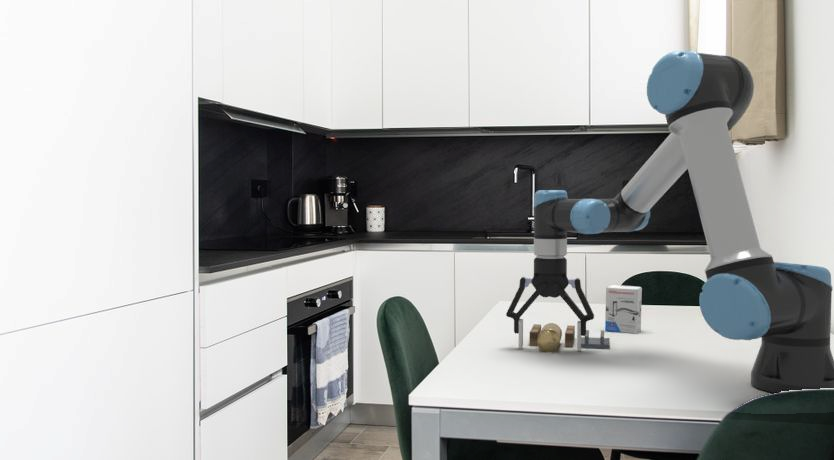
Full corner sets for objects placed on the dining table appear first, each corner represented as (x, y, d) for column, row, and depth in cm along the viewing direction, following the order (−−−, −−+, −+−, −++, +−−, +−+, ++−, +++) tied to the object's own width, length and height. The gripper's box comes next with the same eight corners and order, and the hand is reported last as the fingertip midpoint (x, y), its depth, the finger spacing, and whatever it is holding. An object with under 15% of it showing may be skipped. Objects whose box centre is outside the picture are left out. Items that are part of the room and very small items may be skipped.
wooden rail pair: (572, 347, 195) (572, 333, 195) (529, 345, 197) (529, 332, 197) (574, 338, 207) (574, 325, 207) (533, 336, 209) (533, 324, 209)
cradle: (609, 349, 193) (609, 337, 193) (578, 347, 194) (578, 336, 194) (609, 342, 201) (609, 330, 201) (580, 341, 203) (580, 329, 203)
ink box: (604, 331, 218) (604, 286, 217) (609, 328, 222) (609, 284, 221) (637, 333, 214) (637, 288, 213) (641, 331, 218) (642, 286, 217)
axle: (560, 352, 189) (558, 330, 189) (537, 353, 190) (536, 331, 190) (562, 343, 200) (561, 322, 200) (541, 343, 202) (540, 323, 201)
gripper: (605, 256, 192) (604, 347, 193) (498, 254, 198) (498, 343, 199) (605, 259, 185) (604, 354, 186) (494, 257, 190) (494, 349, 192)
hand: (549, 348), depth 192 cm, fingers open, 13 cm apart
